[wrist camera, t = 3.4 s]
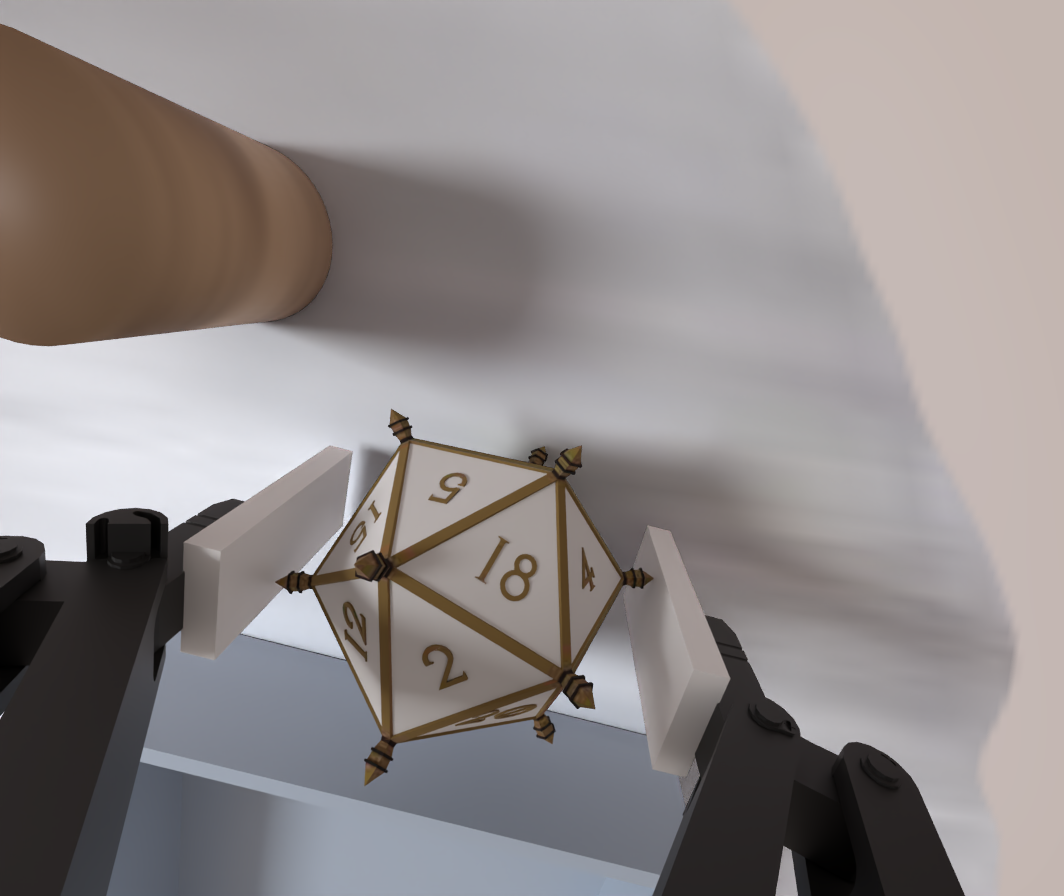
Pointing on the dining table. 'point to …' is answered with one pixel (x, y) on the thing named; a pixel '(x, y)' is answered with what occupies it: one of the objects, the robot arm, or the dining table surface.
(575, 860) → the tote
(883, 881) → the robot arm
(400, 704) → the game die
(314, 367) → the dining table surface
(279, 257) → the walnut cylinder
